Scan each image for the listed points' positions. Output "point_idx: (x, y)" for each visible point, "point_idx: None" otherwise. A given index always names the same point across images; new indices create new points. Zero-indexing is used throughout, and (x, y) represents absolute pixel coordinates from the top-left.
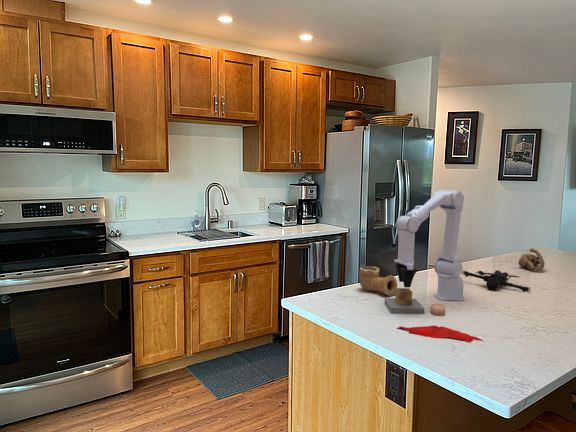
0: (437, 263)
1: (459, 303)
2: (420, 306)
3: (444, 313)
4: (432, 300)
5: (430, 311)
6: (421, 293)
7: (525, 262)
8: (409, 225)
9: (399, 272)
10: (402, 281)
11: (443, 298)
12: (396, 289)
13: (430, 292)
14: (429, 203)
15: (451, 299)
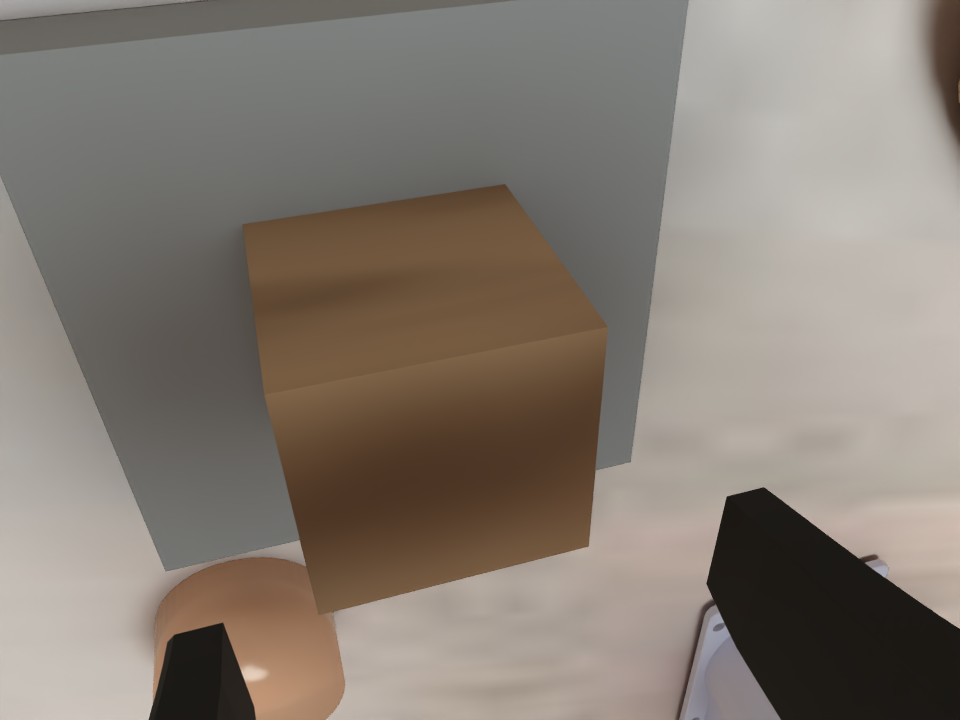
0: None
1: (606, 715)
2: (260, 525)
3: None
4: (709, 553)
5: (232, 579)
6: (949, 462)
7: None
8: None
9: (915, 717)
10: (723, 549)
11: (720, 635)
12: (519, 337)
13: (951, 527)
14: None
15: (693, 678)
